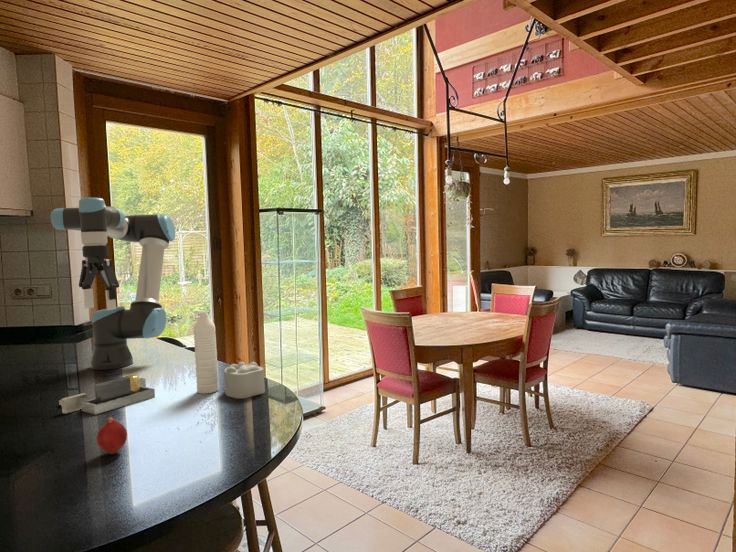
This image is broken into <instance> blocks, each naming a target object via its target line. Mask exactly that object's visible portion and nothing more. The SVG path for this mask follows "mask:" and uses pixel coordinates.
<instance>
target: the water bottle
mask: <svg viewBox="0 0 736 552" xmlns="http://www.w3.org/2000/svg"><path fill="white" fill-rule="evenodd" d="M195 314H196V315H199V317H198V319H197V320H196V322H195V324H194V325H193V341H194V344H193V345H194V359H195V361H194V362H195V375H196V392H197V393H198V394H202V395H203V394H212V393H216V392H217V391H219V389H220V386H219V376H218V375H219V369H218V368H219V367H218V366H219V365H218V358H217V356H218V352H217V351H218V350H217V337H216V336H217V335H216V334H217V333H216V325H215V323H214V321H212V319H211V318H210V316H209V314H208V311H205V310H204V309H198V310H195Z"/></svg>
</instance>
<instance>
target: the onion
mask: <svg viewBox="0 0 736 552" xmlns="http://www.w3.org/2000/svg"><path fill="white" fill-rule="evenodd" d="M106 421H107V422H106V423H104V424H103V425H102V426H101V427H100V429H99V430H98V432H97V435H96V444H97V446H98V447H99V448H100V449H101V450H103V451H104V452H107V453H108V454H110V455H115V454H116V453H117V452H119V451H120V450H121V449H122V448H123V446H124V445H125V444H126V441H127V439H128V432H127V429H126V427H125V426H124V425H123V424H122V423H120V422H119V421H117V420H115V419H114V418H112V417H108V418H107V420H106Z"/></svg>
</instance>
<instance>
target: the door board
mask: <svg viewBox="0 0 736 552" xmlns="http://www.w3.org/2000/svg"><path fill="white" fill-rule="evenodd" d="M139 387H140V392H139V393H135V394H132V395H128V396H125V397H121V398H118V399H114V400H110V401H107V402H103V403H100V404H96V397H95V398H92V399H89V400H88V394H87V393H86V392H85V393H84V392H82V393H79V394H75V395H71V396H66V397H63V398H60V400H58V403H59V404H58V405H61V406H60V407H61V412H62V413H61V414H64V415H65V414H70V413H74V412H77V411H80V409H81V411H82V412H84V413H88V414H92V415H95V416H97V415H99V414H104V413H105V412H106V413H107V412H108V411H113V410H116V409H119V408H122V407H126V406H129V405H133V404H136V403H139V402H142V401H146V400H149V399H152V398H153V399H154V398H156V395H155V392H156V390H155V388H153V387H147V385H146V378H144V377H141V378H140V377H139Z"/></svg>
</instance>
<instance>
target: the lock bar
mask: <svg viewBox="0 0 736 552" xmlns="http://www.w3.org/2000/svg"><path fill="white" fill-rule="evenodd" d="M139 379H140V376H139V374H130V375H125V376H123V377H119V378H115V379H111V380H108V381H104V382H99V383H96V384H94V395H95V396H94V397H95V398H96V404H100V403H103V402H107V401H110V400H114V399H118V398H121V397H125V396H128V395H132V394H135V393H139V392H140V387H139Z"/></svg>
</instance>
